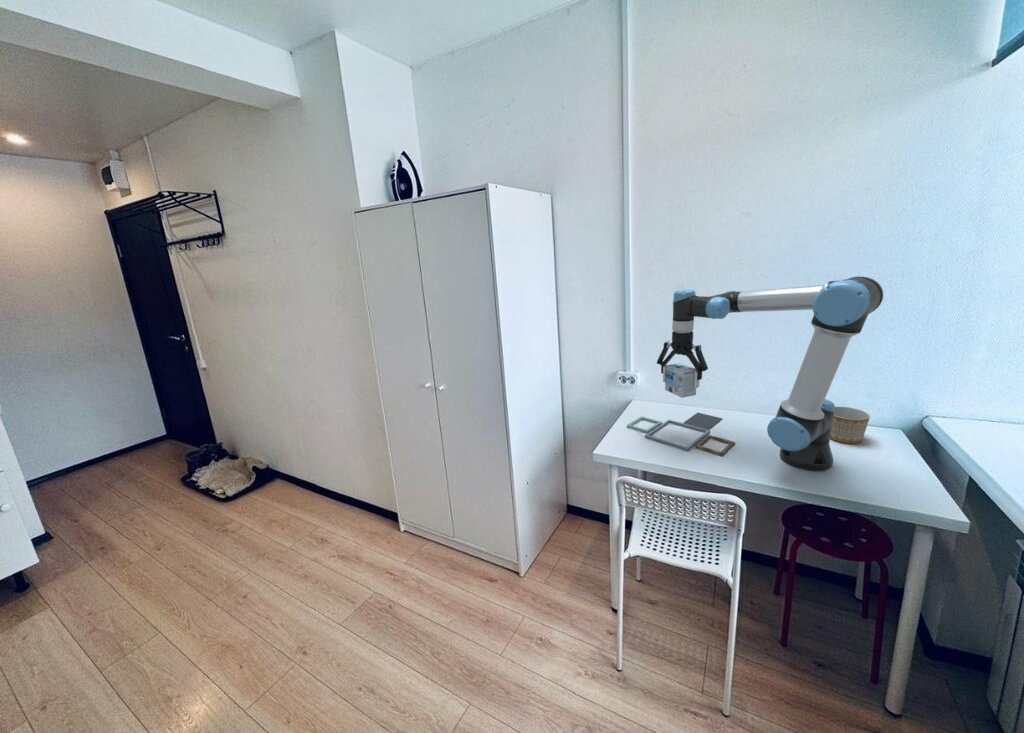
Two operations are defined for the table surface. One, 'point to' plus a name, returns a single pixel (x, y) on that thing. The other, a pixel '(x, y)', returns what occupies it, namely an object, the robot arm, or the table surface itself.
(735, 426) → the table surface
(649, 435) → the slate frame
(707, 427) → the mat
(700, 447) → the walnut frame
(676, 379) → the light bulb box
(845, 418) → the planter
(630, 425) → the teal frame
